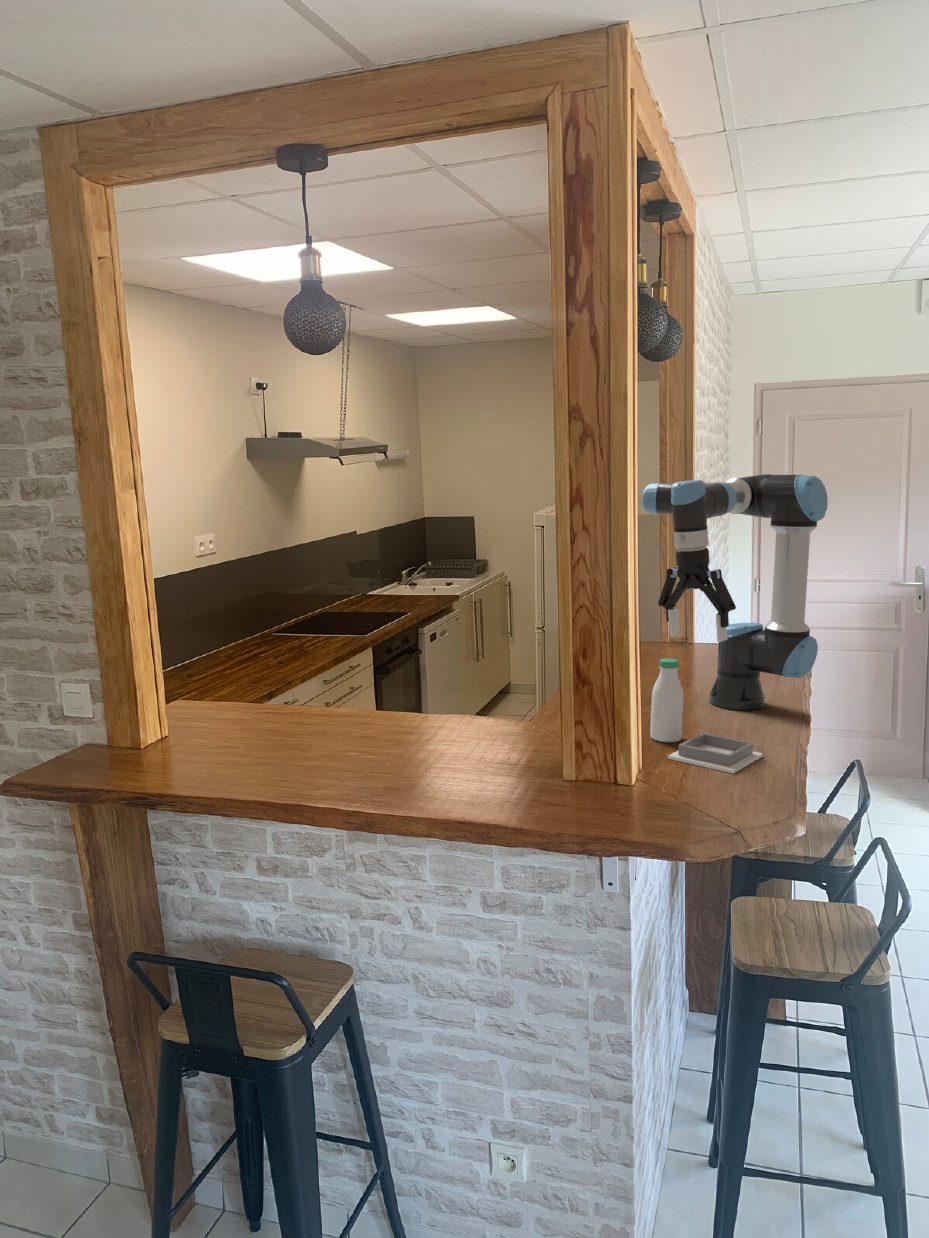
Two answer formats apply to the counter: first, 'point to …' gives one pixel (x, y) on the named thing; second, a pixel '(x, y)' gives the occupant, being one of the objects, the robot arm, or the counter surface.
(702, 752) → the tray
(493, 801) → the counter surface
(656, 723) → the milk bottle
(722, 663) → the robot arm
